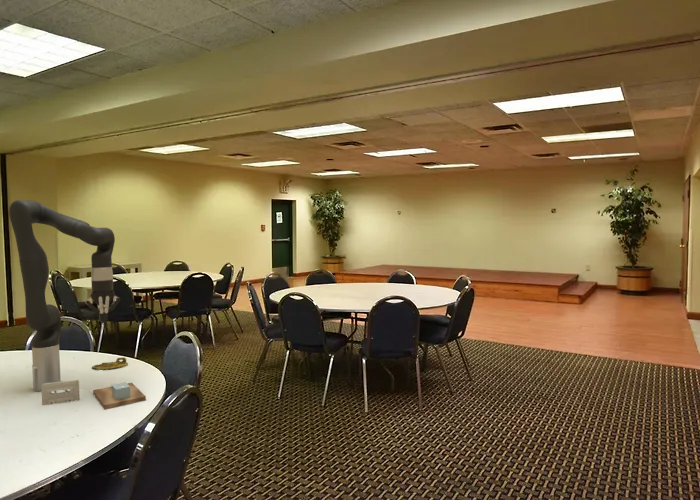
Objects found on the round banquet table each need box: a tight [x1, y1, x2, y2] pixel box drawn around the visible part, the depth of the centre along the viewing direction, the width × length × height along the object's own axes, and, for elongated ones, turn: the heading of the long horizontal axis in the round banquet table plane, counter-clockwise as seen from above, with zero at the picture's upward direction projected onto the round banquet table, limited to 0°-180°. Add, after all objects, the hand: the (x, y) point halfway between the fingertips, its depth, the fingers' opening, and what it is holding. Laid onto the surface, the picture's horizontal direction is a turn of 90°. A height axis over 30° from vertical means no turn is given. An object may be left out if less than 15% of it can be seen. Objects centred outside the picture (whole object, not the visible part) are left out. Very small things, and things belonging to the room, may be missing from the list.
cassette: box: [41, 379, 81, 406], centre depth 178 cm, size 12×2×8 cm, turn 113°
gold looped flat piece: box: [91, 357, 129, 371], centre depth 221 cm, size 9×5×15 cm
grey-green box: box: [111, 381, 130, 400], centre depth 179 cm, size 7×5×4 cm
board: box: [92, 382, 147, 410], centre depth 183 cm, size 14×20×4 cm
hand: (103, 322), depth 190 cm, fingers closed
